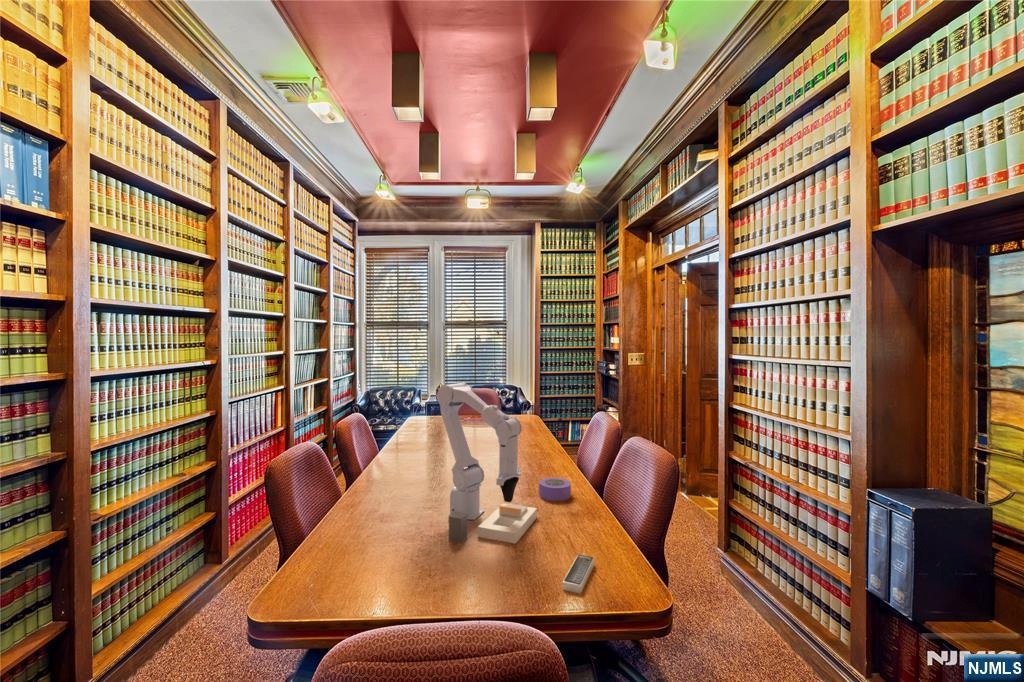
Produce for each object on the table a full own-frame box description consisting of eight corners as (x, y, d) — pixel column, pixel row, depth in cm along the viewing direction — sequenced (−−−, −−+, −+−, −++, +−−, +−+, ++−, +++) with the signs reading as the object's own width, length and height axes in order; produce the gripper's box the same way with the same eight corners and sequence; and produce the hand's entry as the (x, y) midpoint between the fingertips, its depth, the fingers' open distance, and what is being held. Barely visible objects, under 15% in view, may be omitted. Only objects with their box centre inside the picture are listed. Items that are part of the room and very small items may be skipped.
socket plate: (477, 536, 133) (477, 526, 133) (503, 512, 152) (503, 503, 152) (515, 543, 129) (515, 533, 129) (536, 517, 148) (537, 508, 148)
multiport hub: (562, 591, 106) (562, 581, 106) (578, 562, 119) (578, 553, 119) (580, 595, 104) (580, 585, 104) (594, 565, 118) (594, 556, 118)
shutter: (499, 514, 142) (499, 506, 142) (507, 506, 149) (507, 498, 149) (520, 517, 140) (520, 509, 140) (527, 509, 146) (527, 501, 146)
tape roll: (577, 497, 167) (577, 483, 167) (552, 503, 160) (552, 489, 160) (556, 488, 176) (556, 475, 176) (532, 494, 170) (532, 480, 170)
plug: (448, 540, 131) (448, 516, 131) (455, 534, 135) (455, 511, 135) (461, 542, 130) (461, 518, 130) (467, 536, 133) (467, 513, 133)
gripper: (512, 465, 132) (511, 511, 132) (528, 453, 145) (527, 495, 145) (490, 462, 134) (489, 508, 134) (507, 451, 148) (507, 492, 148)
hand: (508, 501), depth 140 cm, fingers closed
